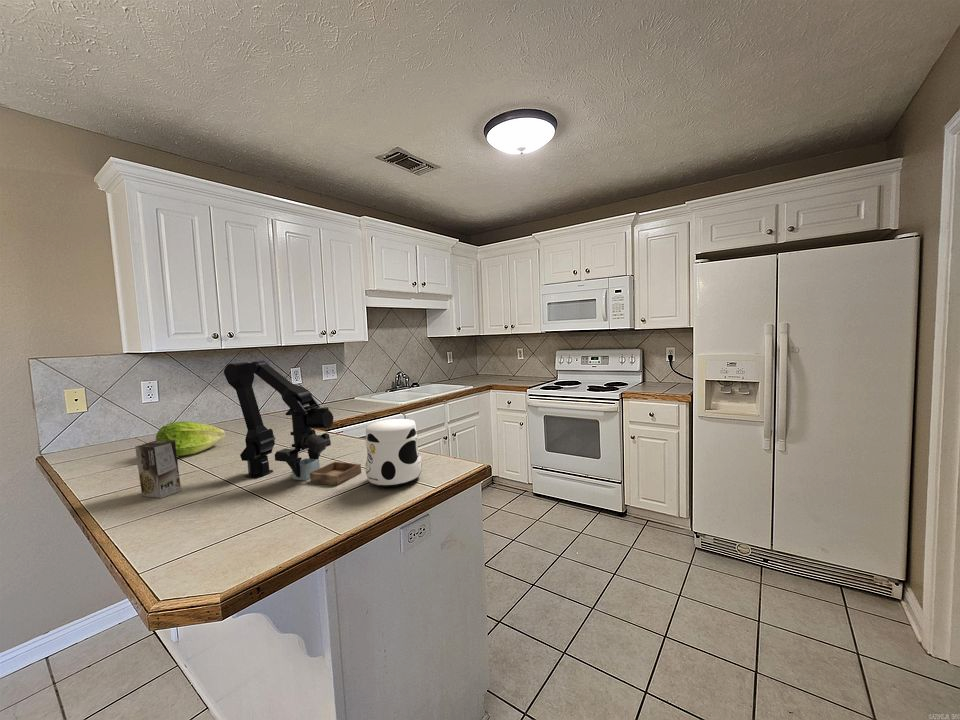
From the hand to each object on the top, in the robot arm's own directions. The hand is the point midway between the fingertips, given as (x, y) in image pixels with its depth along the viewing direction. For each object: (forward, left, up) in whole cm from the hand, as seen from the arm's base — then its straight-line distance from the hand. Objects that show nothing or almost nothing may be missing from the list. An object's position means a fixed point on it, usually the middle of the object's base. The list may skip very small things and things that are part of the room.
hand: (306, 473), depth 134 cm
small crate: (0, 0, -1) cm, 1 cm away
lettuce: (-74, +9, -1) cm, 75 cm away
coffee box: (-36, -24, -1) cm, 43 cm away
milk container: (+32, +5, -1) cm, 32 cm away
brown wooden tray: (+11, +2, -1) cm, 11 cm away
